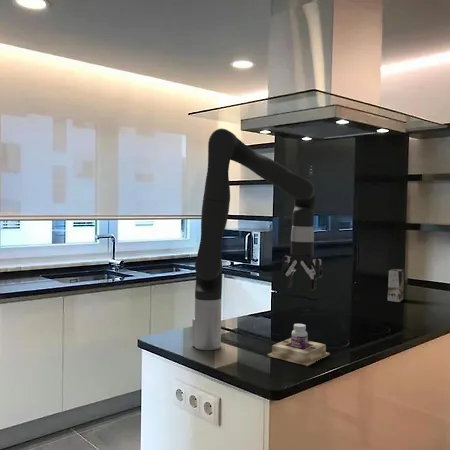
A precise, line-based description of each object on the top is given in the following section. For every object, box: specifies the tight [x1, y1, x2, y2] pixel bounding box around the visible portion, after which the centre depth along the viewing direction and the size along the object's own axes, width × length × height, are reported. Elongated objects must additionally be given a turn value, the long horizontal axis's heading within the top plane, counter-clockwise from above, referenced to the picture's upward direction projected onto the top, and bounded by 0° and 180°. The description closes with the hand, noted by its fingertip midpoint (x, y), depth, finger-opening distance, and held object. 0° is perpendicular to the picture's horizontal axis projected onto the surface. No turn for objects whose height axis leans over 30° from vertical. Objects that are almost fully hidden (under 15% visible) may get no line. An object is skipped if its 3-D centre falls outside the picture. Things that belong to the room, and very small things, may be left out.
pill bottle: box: [290, 323, 309, 350], centre depth 164 cm, size 5×5×10 cm
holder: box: [267, 337, 331, 367], centre depth 164 cm, size 15×15×4 cm
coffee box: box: [387, 268, 405, 303], centre depth 260 cm, size 9×6×16 cm
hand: (301, 288), depth 163 cm, fingers open, 8 cm apart
